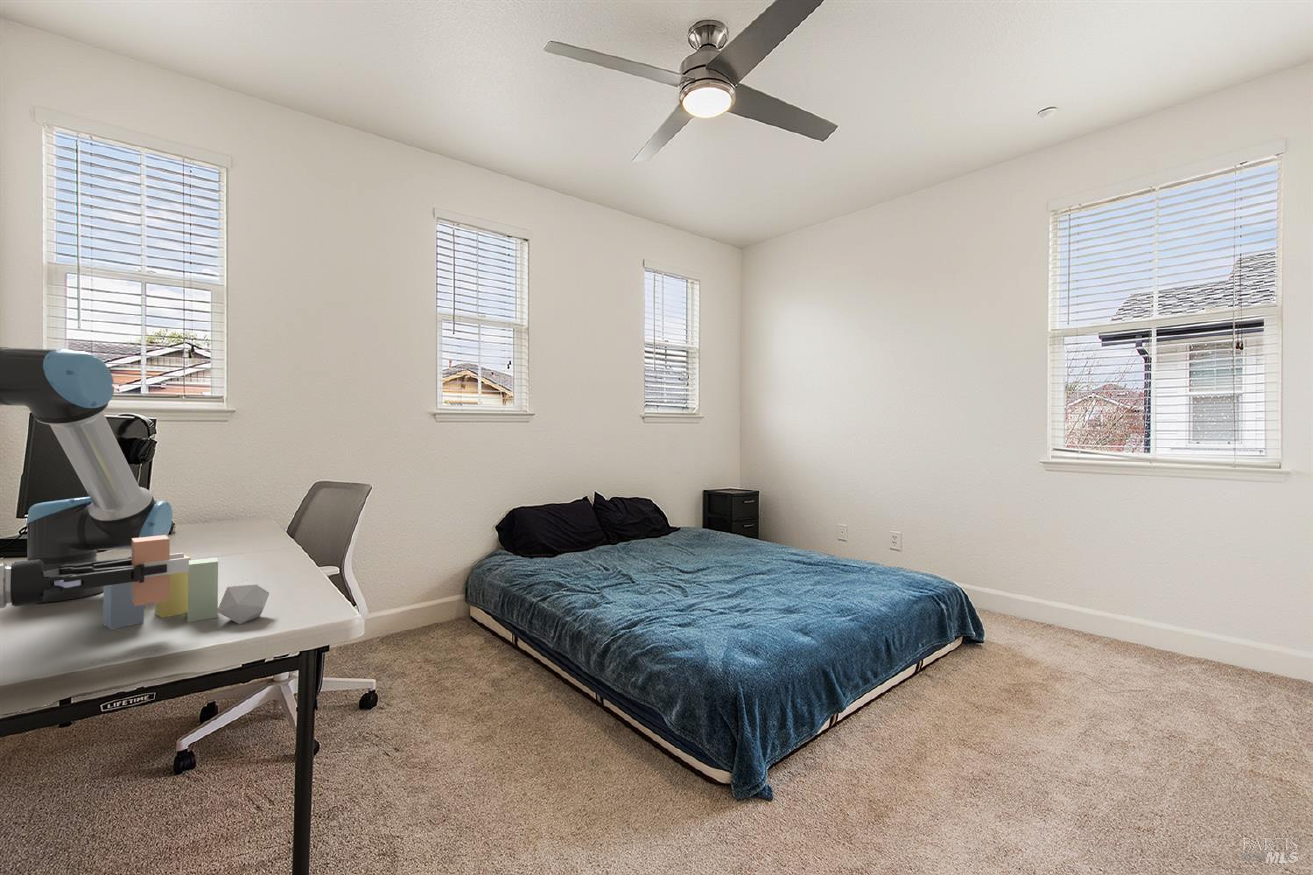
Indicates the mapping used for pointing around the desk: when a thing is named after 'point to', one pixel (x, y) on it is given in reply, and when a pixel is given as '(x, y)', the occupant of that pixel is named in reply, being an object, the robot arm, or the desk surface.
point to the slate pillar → (120, 606)
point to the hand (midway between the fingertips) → (185, 561)
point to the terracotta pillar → (157, 585)
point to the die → (243, 602)
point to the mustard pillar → (175, 596)
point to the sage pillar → (202, 589)
